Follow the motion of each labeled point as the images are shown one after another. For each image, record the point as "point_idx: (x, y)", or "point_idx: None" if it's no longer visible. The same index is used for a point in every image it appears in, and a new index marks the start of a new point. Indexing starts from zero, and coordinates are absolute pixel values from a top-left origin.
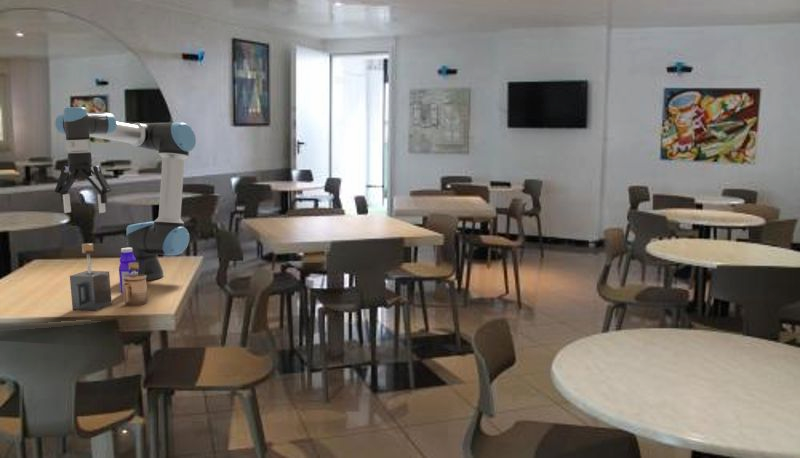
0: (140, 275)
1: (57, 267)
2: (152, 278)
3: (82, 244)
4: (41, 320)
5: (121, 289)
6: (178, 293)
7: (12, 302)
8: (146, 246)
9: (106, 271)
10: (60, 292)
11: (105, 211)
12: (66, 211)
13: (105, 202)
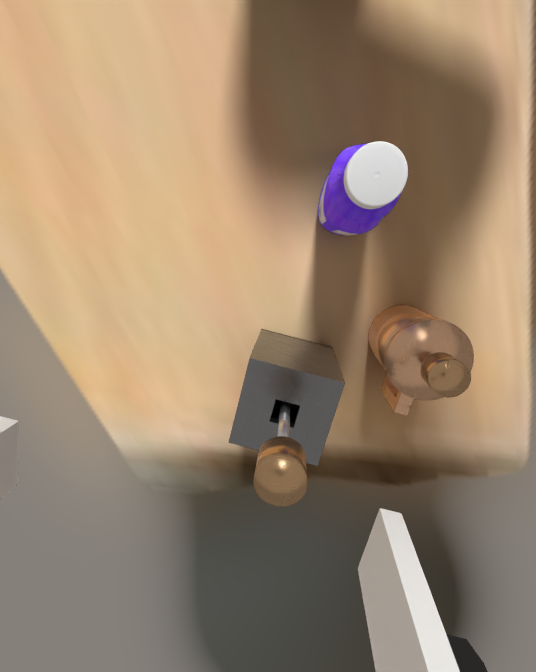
0: (450, 351)
1: None
2: None
3: (258, 490)
4: (214, 478)
5: (326, 229)
6: (514, 215)
7: (32, 292)
8: None
9: (334, 382)
10: (100, 166)
11: (402, 521)
12: (6, 489)
13: (464, 661)
